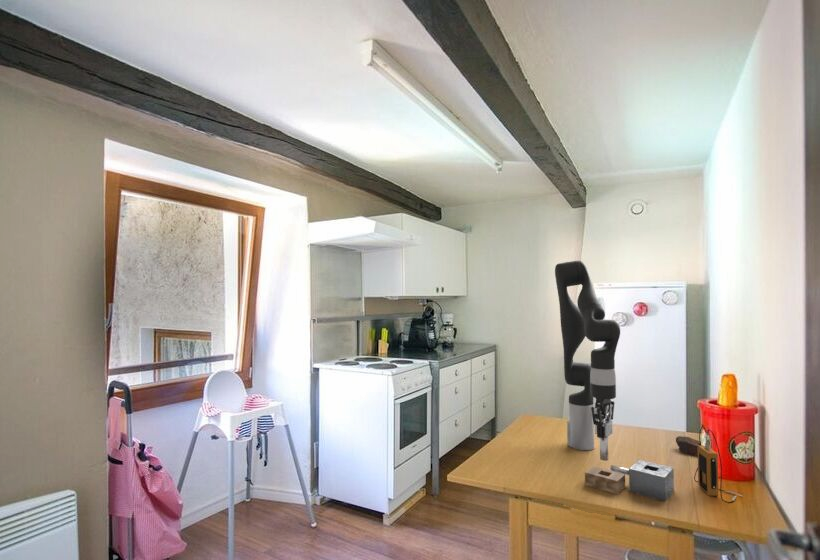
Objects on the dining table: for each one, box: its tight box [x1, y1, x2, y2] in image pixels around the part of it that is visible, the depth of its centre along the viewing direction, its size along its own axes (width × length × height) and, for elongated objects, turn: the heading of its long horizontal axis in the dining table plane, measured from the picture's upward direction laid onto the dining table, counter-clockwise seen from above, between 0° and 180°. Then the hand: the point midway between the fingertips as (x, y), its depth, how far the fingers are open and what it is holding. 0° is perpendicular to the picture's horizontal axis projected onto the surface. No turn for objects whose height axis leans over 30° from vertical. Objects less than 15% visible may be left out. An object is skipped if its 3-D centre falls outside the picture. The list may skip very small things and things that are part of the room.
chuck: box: [609, 459, 675, 502], centre depth 143 cm, size 17×10×7 cm, turn 47°
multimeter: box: [693, 424, 743, 504], centre depth 140 cm, size 15×10×20 cm
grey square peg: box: [594, 420, 613, 462], centre depth 145 cm, size 4×4×12 cm
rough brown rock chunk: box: [675, 435, 702, 456], centre depth 174 cm, size 6×7×10 cm
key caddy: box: [584, 465, 626, 495], centre depth 145 cm, size 10×7×4 cm
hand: (603, 435), depth 145 cm, fingers closed on grey square peg, 4 cm apart
